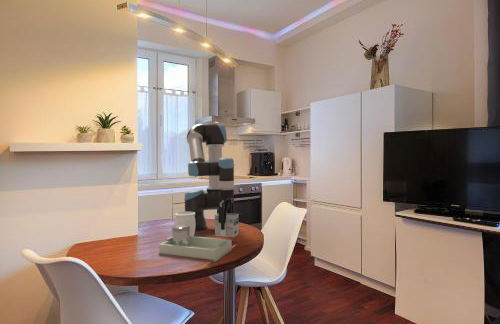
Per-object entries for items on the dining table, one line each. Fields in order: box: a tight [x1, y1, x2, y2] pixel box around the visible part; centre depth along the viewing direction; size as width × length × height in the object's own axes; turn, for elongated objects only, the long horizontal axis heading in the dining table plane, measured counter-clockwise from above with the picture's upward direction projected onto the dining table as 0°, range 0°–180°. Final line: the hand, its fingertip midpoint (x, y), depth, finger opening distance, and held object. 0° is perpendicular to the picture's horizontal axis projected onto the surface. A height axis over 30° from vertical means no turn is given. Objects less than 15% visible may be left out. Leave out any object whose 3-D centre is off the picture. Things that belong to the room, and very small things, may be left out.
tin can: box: [171, 225, 190, 247], centre depth 145 cm, size 8×8×10 cm
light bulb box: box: [214, 212, 240, 238], centre depth 157 cm, size 11×7×11 cm, turn 71°
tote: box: [158, 235, 233, 263], centre depth 142 cm, size 17×28×6 cm, turn 69°
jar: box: [174, 211, 196, 236], centre depth 161 cm, size 11×10×15 cm
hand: (226, 233), depth 158 cm, fingers closed on light bulb box, 7 cm apart
